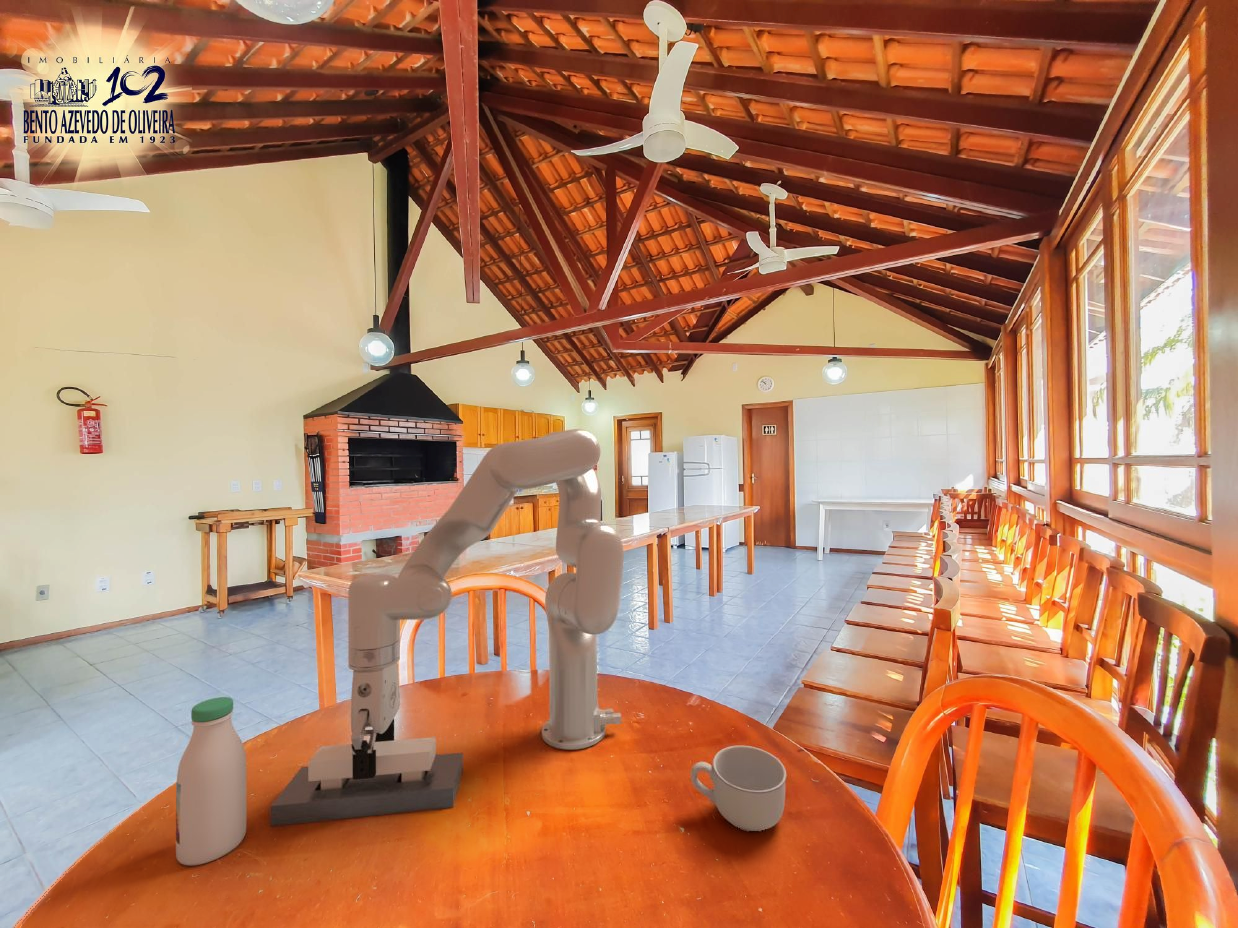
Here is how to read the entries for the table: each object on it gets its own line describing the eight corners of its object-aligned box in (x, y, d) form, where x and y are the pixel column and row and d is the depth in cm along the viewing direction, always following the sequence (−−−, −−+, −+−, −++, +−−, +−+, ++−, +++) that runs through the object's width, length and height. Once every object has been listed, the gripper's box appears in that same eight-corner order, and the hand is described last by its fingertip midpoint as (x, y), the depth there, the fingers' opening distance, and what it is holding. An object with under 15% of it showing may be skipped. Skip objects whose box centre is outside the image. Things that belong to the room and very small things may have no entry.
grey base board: (462, 769, 89) (462, 752, 89) (453, 807, 79) (453, 787, 79) (301, 784, 85) (301, 766, 85) (270, 826, 75) (270, 805, 75)
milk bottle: (259, 828, 74) (260, 691, 75) (212, 869, 67) (213, 717, 67) (211, 825, 75) (212, 689, 75) (159, 865, 68) (160, 715, 68)
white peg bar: (435, 781, 85) (435, 736, 85) (430, 798, 81) (430, 751, 81) (320, 792, 83) (320, 746, 83) (308, 810, 78) (308, 761, 78)
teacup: (787, 802, 79) (786, 751, 80) (786, 852, 69) (785, 793, 69) (698, 785, 84) (698, 736, 84) (685, 829, 74) (685, 774, 74)
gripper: (382, 672, 74) (382, 790, 74) (412, 634, 91) (412, 730, 91) (327, 676, 73) (327, 796, 73) (367, 637, 90) (368, 733, 90)
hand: (374, 759), depth 82 cm, fingers open, 9 cm apart
